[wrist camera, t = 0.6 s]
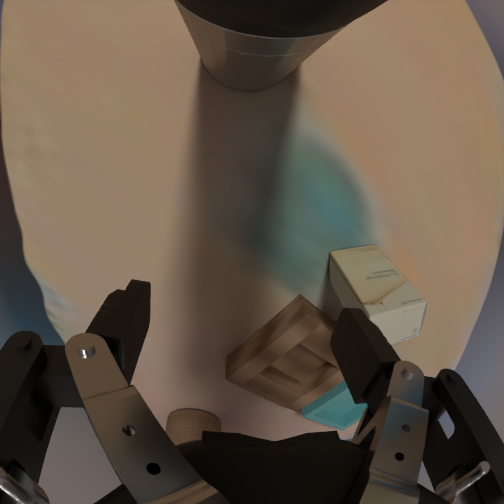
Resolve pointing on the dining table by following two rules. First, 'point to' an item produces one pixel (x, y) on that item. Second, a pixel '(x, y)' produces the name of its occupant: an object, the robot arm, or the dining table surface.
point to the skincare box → (378, 291)
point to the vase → (190, 425)
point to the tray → (335, 408)
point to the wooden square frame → (288, 357)
